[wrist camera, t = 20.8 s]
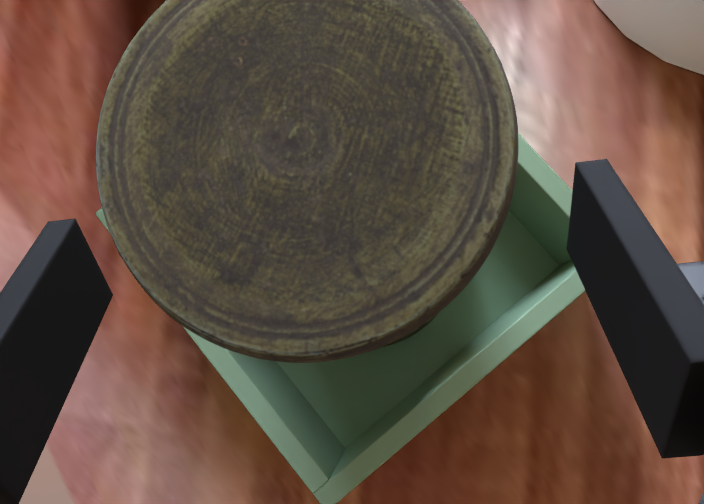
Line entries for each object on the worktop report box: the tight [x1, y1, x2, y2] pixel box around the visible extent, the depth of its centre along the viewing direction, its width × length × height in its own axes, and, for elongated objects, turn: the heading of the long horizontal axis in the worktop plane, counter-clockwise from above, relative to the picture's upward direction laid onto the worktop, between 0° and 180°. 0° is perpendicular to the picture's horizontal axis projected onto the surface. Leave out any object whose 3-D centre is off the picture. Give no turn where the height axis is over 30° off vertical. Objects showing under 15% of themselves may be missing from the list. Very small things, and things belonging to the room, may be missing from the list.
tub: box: [95, 133, 585, 504], centre depth 27 cm, size 15×15×7 cm
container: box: [96, 0, 518, 363], centre depth 21 cm, size 9×9×18 cm
